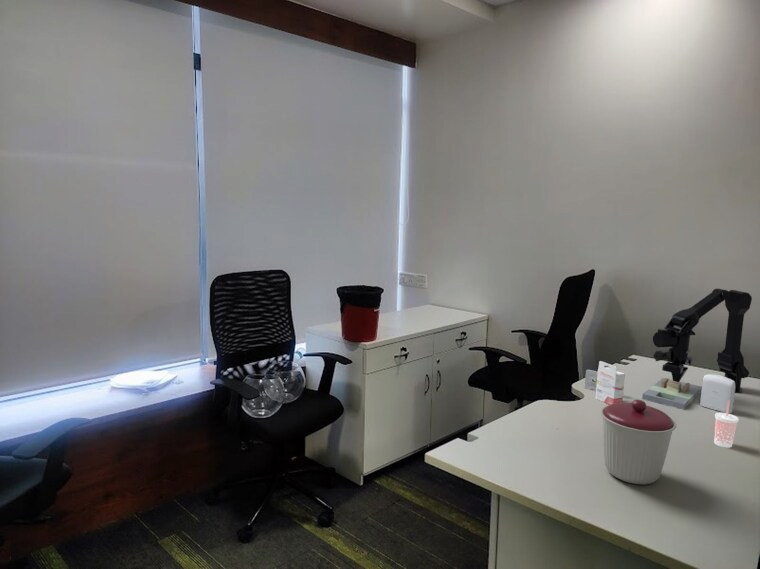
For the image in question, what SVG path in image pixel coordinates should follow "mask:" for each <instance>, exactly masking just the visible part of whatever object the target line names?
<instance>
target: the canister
mask: <svg viewBox="0 0 760 569" xmlns="http://www.w3.org/2000/svg"><path fill="white" fill-rule="evenodd" d="M600 415H601V416H602V428H603V429H602V432H603V433H602V438H603V440H602V441H603V457H604V458H603V460H604V465H605V467H606V469H607V471H608V472H609V473H610V474H611V475H612V476H614V477H615V478H617V479H619V480H621V481H623V482H626V483H629V484H633V485H634V484H635V485H648V484H649V485H651V484H653V483H654V482H656V481H657V480H658V479H659V478H660V477H661V474H662V472H663V468H664V465H665V462H666V459H667V458H666V457H667V453H668V450H669V446H670V443H671V439H672V434H673V431H675V429H676V428H677V423H676V420H674V419H673V417H671V416H669V415H668V414H667V413H666V412H664V411H662V410H660V409H658V408H655V407H652V406H650V405H647V404H646V402H645V401H644V400H643V399H634V400H632V402H622V403H614V404H611V405H609V404H607V405H606V406H603V407H602V408H601V409H600Z"/></svg>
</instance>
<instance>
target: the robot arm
mask: <svg viewBox="0 0 760 569" xmlns="http://www.w3.org/2000/svg"><path fill="white" fill-rule="evenodd" d="M752 298H753V296H752V295H751V294H750V293H749V292H745V291H741V290H736V289H730V290H727V289H723V288H714V289H712V291H711V292H710V293H709V294H707V295H706V296H705V297H704V298H702V299H701V300H700V301H698V302H696V303H695V304H694V305H692V306H691V307H688V308H685V309H682V310H680V311H678V312H675V313H673V315H672V316H671V319H670V320H669V321H668V323H667V324H666V325H665V327H664V329H662V328H658V329H657V332H655V333H654V334H653V336H652V343H653V345H654V346H655V347H656V348H669V349H665V350H664V349H663V350H656V351H654V353H653V356H652V357H653V358H654V360H655V362H660V361H665V360H666V362H665V363H664V364H663V365H662V367H661V368H662V369H661V371H662V372H663V371H664V372H668V373H671V377H672V380H673V381H676V382H681V380H682V378H683V377H684V375H685V374H686V373H687V371H688V369H689V367H688V366H685V365H686V364H688V365H689V366H692V365H693V364H694V363H693V362H694V359H693V357H692V356H689V353H690V352H691V348H690V340H691V336H696V333H695V331H693V329H694V328H695V327H696V326H697V325H698V324H699V322H700V319H701V318H702V317H703V316H705V315H706V314H707V313H709V312H711V310H713V309H714V308H716V307H717V306H719V305H720V304H721V303H723V302H724V306H725V308H726V310H727V312H728V317H727V318H728V319H727V326H726V333H725V334H726V336H725V344H724V345H725V346H724V349H722V351H718V352H717V358H716V359H717V360H716V362H717V365H718V367H719V371H720V372H722V373H724V376H723V377H726V378H729V379H731V380H733V381H734V382H735V393H738V394H740V393H741V392H742V390H743V387H741V385H742V380H743V379H745V378H748V377H749V375H750V372H749V369H747V368H746V366H745V362H744V361H745V359H744V355H743V354H742V352H741V346H742V345H741V344H742V336H743V327H744V320H745V319H744V318H745V315H746V313H747V312H748V311H749V310H750V308H751V304H752Z"/></svg>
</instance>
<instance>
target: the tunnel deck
mask: <svg viewBox="0 0 760 569" xmlns="http://www.w3.org/2000/svg"><path fill="white" fill-rule="evenodd" d="M670 380H671V381H673V379H669V377H662V378H661V379H660V380H657V382H656V383H655V384H653V385H652V386H651V387H649V388H648V389H647V390H645V391H644V392H643V393H642V396H641V397H642V398H641V400H643V401H644V400H645V401H650V402H653V403H655V404H656V403H657V404H660V405H665V406H669V407H672V408H675V409H679V410H684V411H685V409H686V408H687V407H688V406H689V405H690V404H691V403H692V402H693V401H694V400H695V399H697V397H698V395H700V394H701V391H702V385H697V384H696V385H695V384H693V383H690V382H684V381H680V383H681V390H680V391H679V392H678V393H676V392H672V391H668V390H666V388H667V382H668V381H670Z"/></svg>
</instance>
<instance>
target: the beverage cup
mask: <svg viewBox="0 0 760 569" xmlns="http://www.w3.org/2000/svg"><path fill="white" fill-rule="evenodd" d="M729 404H730V401H728V404H727V412H726V413H725V412H716V413H715V414H714V418H715V423H714V439H713V443H714V444H715V445H716V446H718V447H722V448H728V449H729V448H732V447H733V442H734V439H735V433H736V429H737V424H738V423H739V420H740V419H739V417H738V416H736V415H733V414H732V413H728V411H729Z"/></svg>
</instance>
